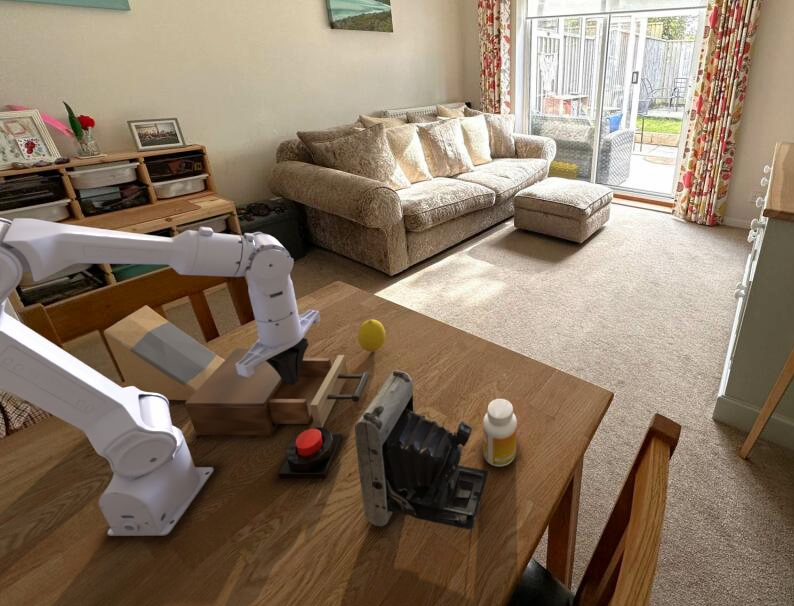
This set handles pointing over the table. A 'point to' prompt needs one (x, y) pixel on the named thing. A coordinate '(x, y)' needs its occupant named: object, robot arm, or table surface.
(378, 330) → the lemon
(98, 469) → the table surface
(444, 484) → the vintage camera
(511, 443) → the supplement bottle
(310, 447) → the release button
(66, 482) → the table surface
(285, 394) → the wooden drawer
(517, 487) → the table surface
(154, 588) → the table surface
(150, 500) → the robot arm
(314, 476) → the black button housing
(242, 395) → the wooden drawer cabinet
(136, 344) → the sandwich container
